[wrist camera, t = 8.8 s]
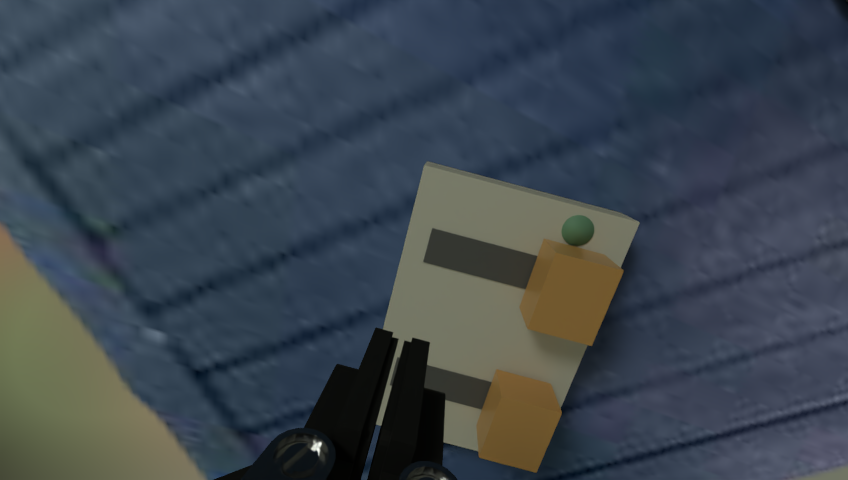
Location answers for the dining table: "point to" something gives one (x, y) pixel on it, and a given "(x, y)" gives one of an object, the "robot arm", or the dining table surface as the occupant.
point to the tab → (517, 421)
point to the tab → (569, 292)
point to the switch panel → (486, 286)
